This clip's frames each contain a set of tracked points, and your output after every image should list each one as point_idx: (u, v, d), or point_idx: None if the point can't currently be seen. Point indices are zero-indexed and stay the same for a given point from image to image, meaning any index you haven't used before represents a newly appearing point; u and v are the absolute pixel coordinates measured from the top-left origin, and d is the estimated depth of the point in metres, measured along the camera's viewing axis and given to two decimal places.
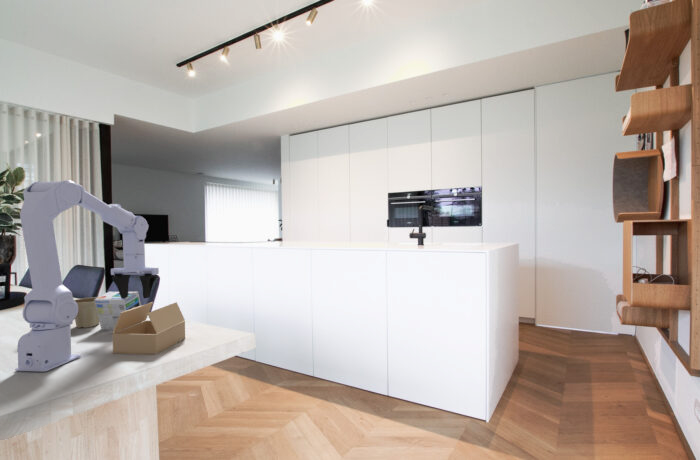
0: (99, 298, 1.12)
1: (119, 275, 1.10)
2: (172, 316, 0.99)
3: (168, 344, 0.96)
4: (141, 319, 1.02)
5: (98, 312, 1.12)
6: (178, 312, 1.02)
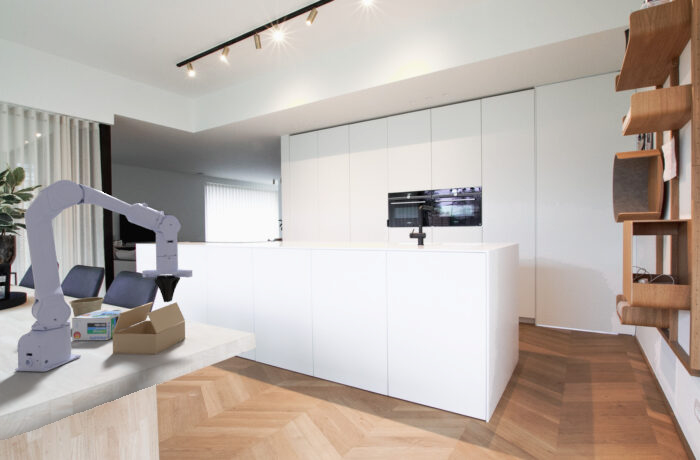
0: (77, 338, 1.02)
1: None
2: (172, 316, 0.99)
3: (168, 344, 0.96)
4: (141, 319, 1.02)
5: None
6: (178, 312, 1.02)
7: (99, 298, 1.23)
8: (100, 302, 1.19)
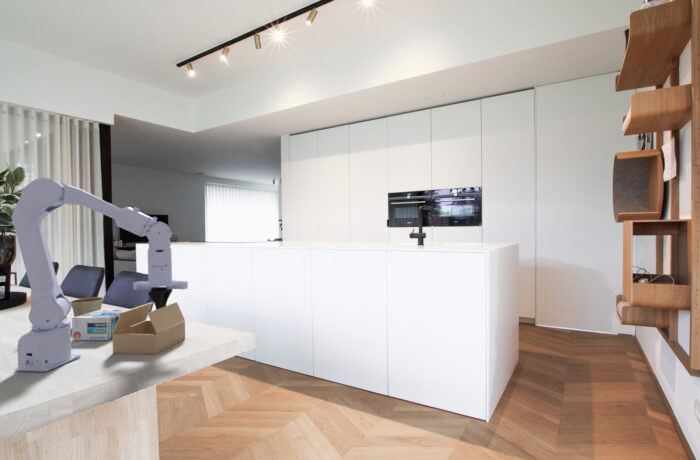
0: (77, 338, 1.02)
1: None
2: (172, 316, 0.99)
3: (168, 344, 0.96)
4: (141, 319, 1.02)
5: None
6: (178, 312, 1.02)
7: (99, 298, 1.23)
8: (100, 302, 1.19)
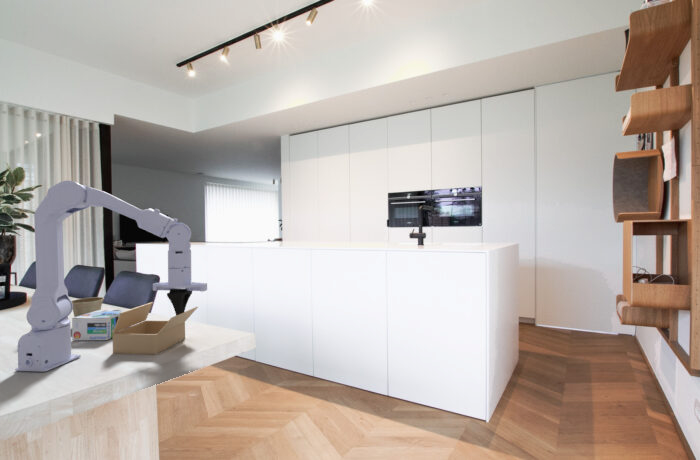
0: (77, 338, 1.02)
1: None
2: (182, 319, 0.99)
3: (168, 344, 0.96)
4: (141, 319, 1.02)
5: None
6: (189, 315, 1.02)
7: (99, 298, 1.23)
8: (100, 302, 1.19)
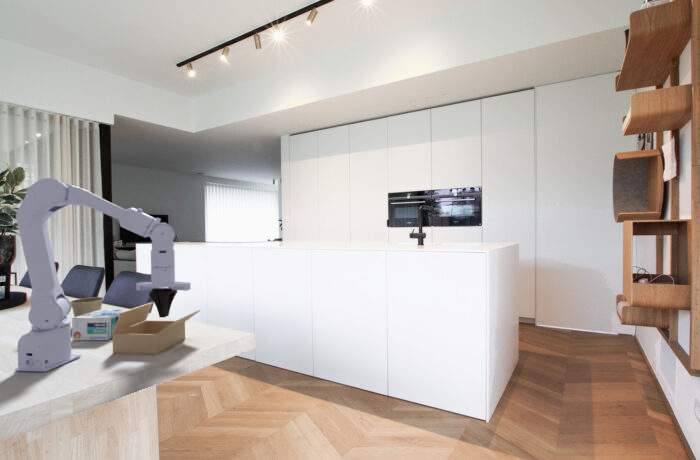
0: (77, 338, 1.02)
1: None
2: (183, 320, 0.99)
3: (168, 344, 0.96)
4: (141, 319, 1.02)
5: None
6: (190, 317, 1.02)
7: (99, 298, 1.23)
8: (100, 302, 1.19)
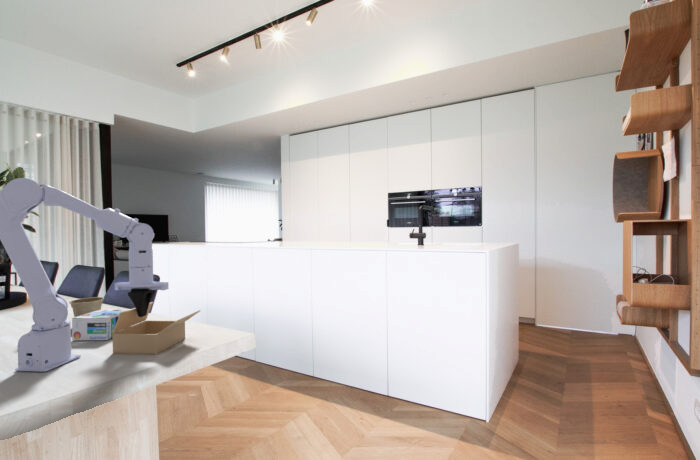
0: (77, 338, 1.02)
1: None
2: (183, 321, 0.99)
3: (168, 344, 0.96)
4: (141, 319, 1.02)
5: None
6: (190, 317, 1.02)
7: (99, 298, 1.23)
8: (100, 302, 1.19)
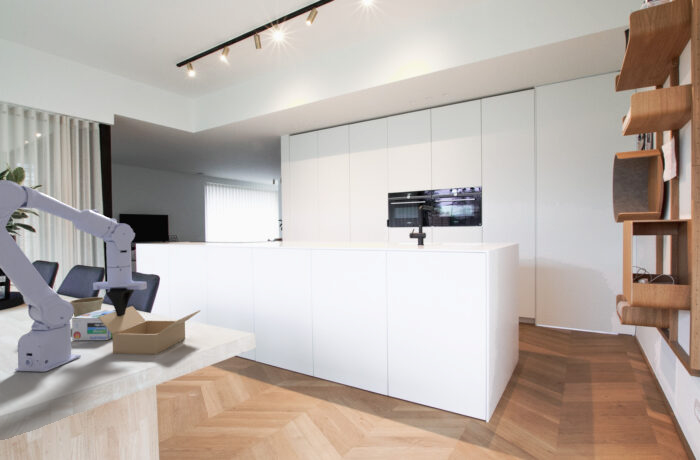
0: (77, 338, 1.02)
1: None
2: (183, 321, 0.99)
3: (168, 344, 0.96)
4: (137, 320, 1.02)
5: None
6: (190, 317, 1.02)
7: (99, 298, 1.23)
8: (100, 302, 1.19)
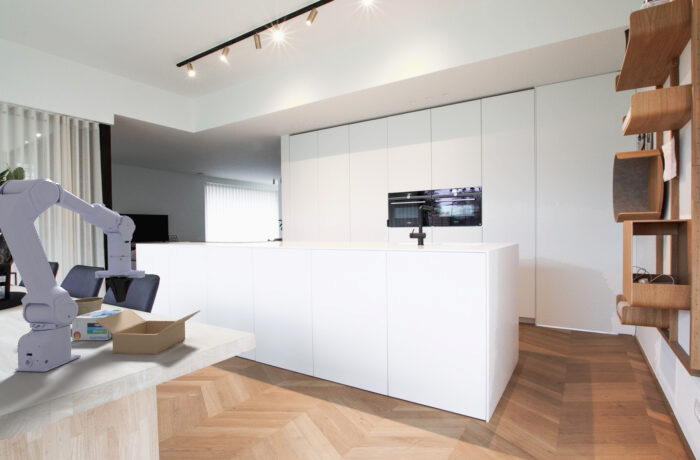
0: (77, 338, 1.02)
1: None
2: (183, 321, 0.99)
3: (168, 344, 0.96)
4: (137, 320, 1.02)
5: None
6: (190, 317, 1.02)
7: (99, 298, 1.23)
8: (100, 302, 1.19)
